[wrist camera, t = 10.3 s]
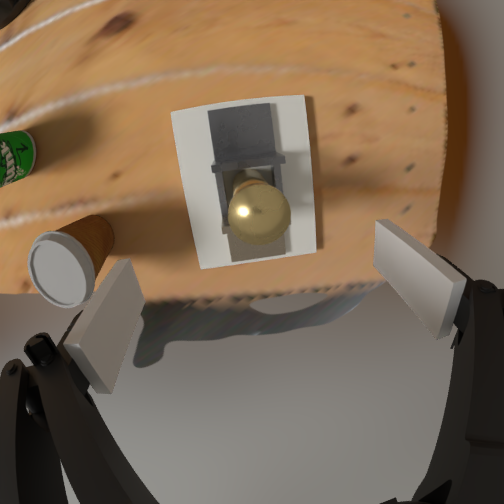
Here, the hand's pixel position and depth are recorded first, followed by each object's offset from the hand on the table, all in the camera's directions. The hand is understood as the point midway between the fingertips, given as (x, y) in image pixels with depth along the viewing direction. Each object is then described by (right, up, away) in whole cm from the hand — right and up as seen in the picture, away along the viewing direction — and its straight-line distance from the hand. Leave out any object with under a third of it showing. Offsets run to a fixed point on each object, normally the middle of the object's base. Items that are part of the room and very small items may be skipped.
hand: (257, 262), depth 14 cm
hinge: (-1, +9, +20) cm, 21 cm away
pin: (-1, +9, +20) cm, 21 cm away
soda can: (-35, +15, +15) cm, 41 cm away
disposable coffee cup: (-23, +3, +22) cm, 32 cm away
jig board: (-1, +9, +21) cm, 23 cm away
